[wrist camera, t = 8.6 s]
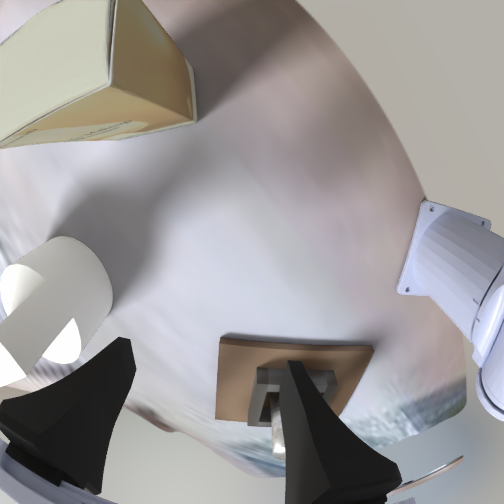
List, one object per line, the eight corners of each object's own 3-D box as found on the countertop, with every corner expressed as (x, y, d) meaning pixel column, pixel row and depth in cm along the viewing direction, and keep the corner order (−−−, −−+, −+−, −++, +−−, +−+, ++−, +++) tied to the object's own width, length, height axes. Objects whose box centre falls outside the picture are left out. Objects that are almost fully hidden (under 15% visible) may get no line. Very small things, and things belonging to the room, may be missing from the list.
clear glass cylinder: (301, 377, 23) (311, 439, 17) (310, 397, 24) (319, 454, 18) (264, 387, 24) (267, 448, 17) (276, 406, 25) (279, 463, 18)
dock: (371, 345, 23) (381, 365, 20) (333, 417, 27) (337, 435, 25) (220, 337, 22) (216, 360, 20) (215, 413, 27) (213, 433, 24)
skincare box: (117, 142, 16) (-23, 160, 5) (112, 87, 15) (-19, 58, 3) (203, 123, 16) (112, 87, 5) (197, 64, 15) (118, -34, 3)
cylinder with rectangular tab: (77, 334, 23) (20, 416, 12) (27, 263, 20) (-51, 326, 9) (132, 305, 21) (66, 413, 10) (73, 216, 18) (-37, 282, 7)
